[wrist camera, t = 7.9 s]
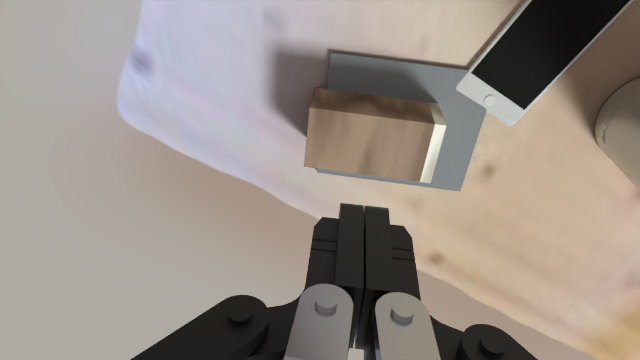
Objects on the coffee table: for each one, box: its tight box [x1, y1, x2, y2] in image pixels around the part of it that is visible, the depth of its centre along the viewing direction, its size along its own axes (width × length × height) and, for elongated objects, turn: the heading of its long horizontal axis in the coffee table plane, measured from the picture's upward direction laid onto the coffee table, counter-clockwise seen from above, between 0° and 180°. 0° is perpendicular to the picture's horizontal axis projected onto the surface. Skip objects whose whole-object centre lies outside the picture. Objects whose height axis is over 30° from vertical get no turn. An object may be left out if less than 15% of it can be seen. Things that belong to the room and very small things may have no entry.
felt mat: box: [317, 52, 487, 191], centre depth 45 cm, size 16×13×1 cm
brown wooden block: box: [304, 88, 447, 183], centre depth 43 cm, size 5×6×12 cm
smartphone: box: [456, 0, 634, 126], centre depth 40 cm, size 7×16×1 cm, turn 148°
